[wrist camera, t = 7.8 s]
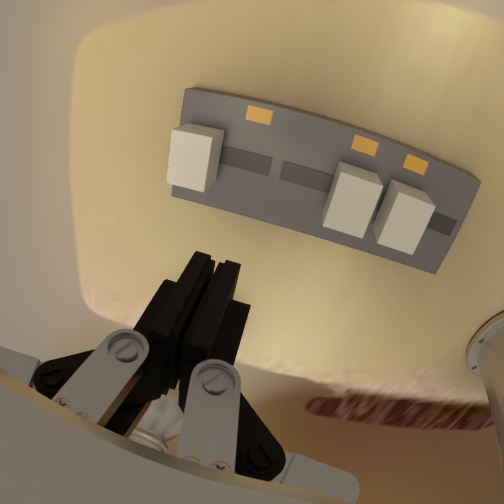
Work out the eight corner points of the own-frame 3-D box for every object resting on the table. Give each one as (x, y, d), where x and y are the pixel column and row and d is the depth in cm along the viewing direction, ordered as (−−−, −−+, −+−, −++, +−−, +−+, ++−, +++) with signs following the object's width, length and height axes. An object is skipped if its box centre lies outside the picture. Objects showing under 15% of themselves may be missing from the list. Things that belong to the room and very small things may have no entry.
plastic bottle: (186, 320, 40) (117, 455, 23) (183, 279, 36) (95, 425, 20) (235, 332, 39) (180, 479, 23) (237, 290, 36) (170, 455, 19)
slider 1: (224, 130, 24) (212, 137, 22) (216, 179, 27) (203, 192, 24) (187, 122, 24) (172, 129, 22) (181, 171, 27) (166, 183, 24)
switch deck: (472, 174, 23) (481, 182, 21) (430, 263, 29) (435, 275, 27) (194, 87, 25) (184, 88, 23) (180, 188, 30) (171, 196, 29)
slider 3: (425, 191, 23) (435, 206, 20) (405, 236, 25) (412, 255, 23) (391, 178, 23) (398, 192, 21) (372, 225, 26) (377, 243, 23)
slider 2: (377, 173, 23) (383, 186, 21) (359, 221, 26) (362, 238, 23) (339, 161, 24) (340, 172, 21) (323, 210, 26) (322, 226, 23)
